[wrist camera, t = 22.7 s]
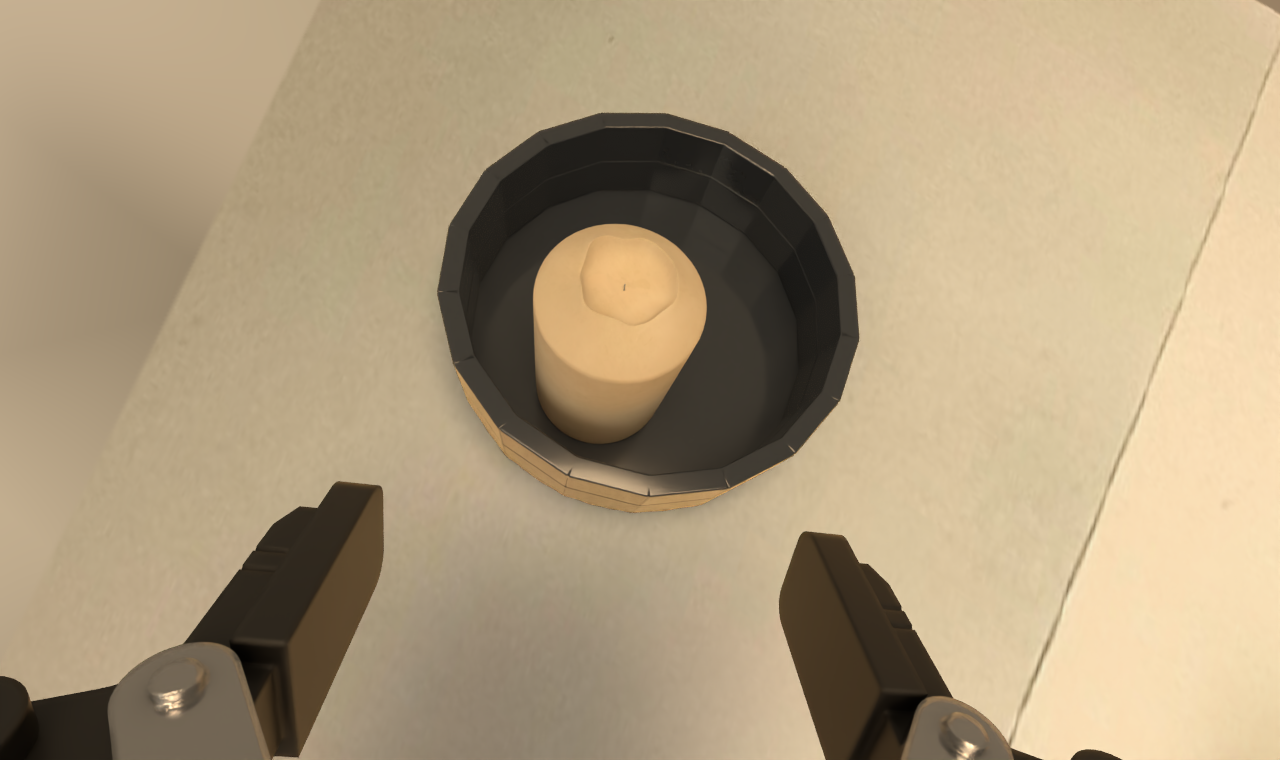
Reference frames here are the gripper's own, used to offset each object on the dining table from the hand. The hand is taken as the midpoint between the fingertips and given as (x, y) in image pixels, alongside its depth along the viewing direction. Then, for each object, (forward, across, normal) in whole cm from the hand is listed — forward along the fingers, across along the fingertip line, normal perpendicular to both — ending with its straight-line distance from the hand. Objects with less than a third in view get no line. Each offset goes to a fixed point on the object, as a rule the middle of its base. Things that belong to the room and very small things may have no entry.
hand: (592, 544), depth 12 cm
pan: (+18, -2, +2) cm, 18 cm away
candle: (+15, -1, +4) cm, 16 cm away
